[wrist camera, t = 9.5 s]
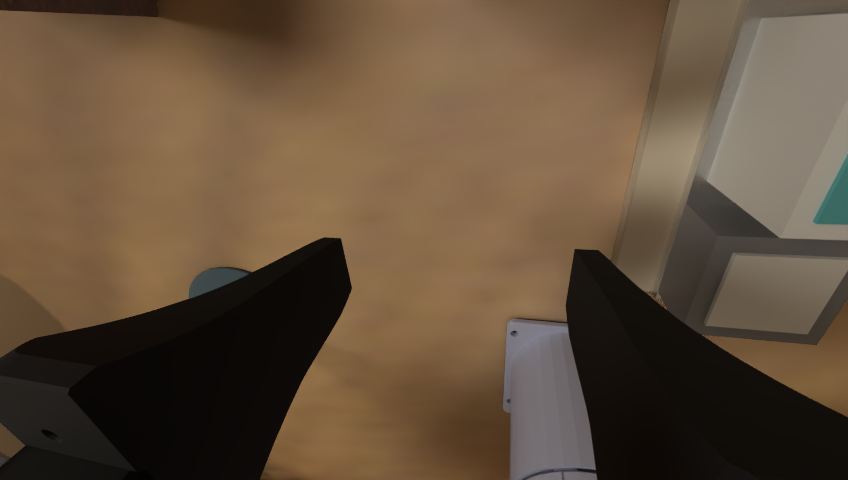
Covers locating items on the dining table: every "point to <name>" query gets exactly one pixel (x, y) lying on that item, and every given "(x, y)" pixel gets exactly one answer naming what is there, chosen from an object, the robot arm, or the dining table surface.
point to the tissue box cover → (85, 6)
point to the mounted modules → (752, 278)
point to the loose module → (791, 129)
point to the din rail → (731, 101)
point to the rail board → (671, 130)
